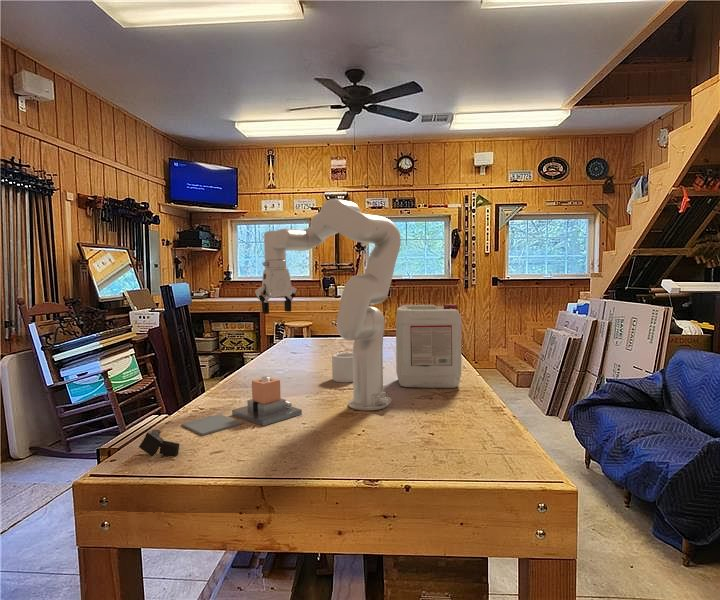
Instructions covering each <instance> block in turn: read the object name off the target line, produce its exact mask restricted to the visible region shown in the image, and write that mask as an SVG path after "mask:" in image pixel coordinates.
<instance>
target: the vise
mask: <svg viewBox="0 0 720 600" xmlns="http://www.w3.org/2000/svg"><path fill="white" fill-rule="evenodd" d="M270 378H271V377H270V376H269V375H266V376H261V379H262V382H269V381H270ZM231 413H232V414H231V415H232V416H235V417H237V418H240V419H243V420H246V421H247V422H250V423H253V424H256V425H258V424H259V425H258V426H261V427H266V426H268V424H269V425H272V424H275V423H278V422H282V421H285V420H289V419H291V418H295V417H298V416H302V414H303V411H302V409H301V408H298V407H295V406H292V403H291V402H289V401H287V399H284V398H282V397H281V400H277V401H274V402H270V403H266V404H262V403H259V402H256V401H253V400H252V398H251V399H247V405H246V406H242V407H237V408H235V409H231ZM271 423H272V424H271ZM265 425H266V426H265Z"/></svg>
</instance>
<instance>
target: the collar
mask: <svg viewBox="0 0 720 600" xmlns="http://www.w3.org/2000/svg"><path fill="white" fill-rule="evenodd" d="M251 395H252V396H251V397H252V398H251V399H252V400H253V401H256V402H259V403H262V404H266V403H270V402H274V401H277V400H281V398H282V397H281V379H277V378H272V377H270V381H269V382H262V378H258V379H254V380H251Z"/></svg>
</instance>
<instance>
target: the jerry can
mask: <svg viewBox="0 0 720 600" xmlns="http://www.w3.org/2000/svg"><path fill="white" fill-rule="evenodd" d="M395 322H396V323H395V340H396V342H395V345H396V346H395V350H396V352H395V357H396V358H395V359H396V363H395V367H396V376H397V380H398V383H399V385H400V387H404V388H418V389H419V388H420V389H421V388H422V389H423V388H424V389H425V388H428V389H429V388H430V389H431V388H432V389H455V388H457V387H458V386H459V385H460V381H461V377H462V331H463V330H462V329H463V328H462V324H463V323H462V315H461V314H460V312H459V310H458V304H454V303H453V304H452V303H447V304H446V303H445V304H444V305H443V306H437V305H435V304H402V305H401V306H399V307H398V308H397V310H396V321H395Z"/></svg>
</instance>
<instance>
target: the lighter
mask: <svg viewBox="0 0 720 600" xmlns="http://www.w3.org/2000/svg"><path fill="white" fill-rule="evenodd" d="M161 433H162V432H161V431H160V430H159V429H152V430H149V431H148V432H146V434H145V436H144V437H143V440H142V441H141V443H140V445H139V446H138V448H139V449H141V450H142V451H144V452H145V453H146V454H148V455H149V456H151V457H153V455H154V454H155V455H156V454H157V452H158V451H159V454H161V455H162V456H165V457H168V456H174V457H176V456H178V455H179V450H180V443H177V442H173V441H168V440H165V439H163V437H161V436H160V435H161ZM155 455H154V456H155Z"/></svg>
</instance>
